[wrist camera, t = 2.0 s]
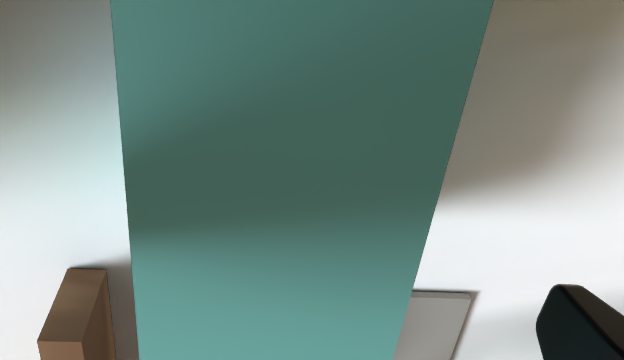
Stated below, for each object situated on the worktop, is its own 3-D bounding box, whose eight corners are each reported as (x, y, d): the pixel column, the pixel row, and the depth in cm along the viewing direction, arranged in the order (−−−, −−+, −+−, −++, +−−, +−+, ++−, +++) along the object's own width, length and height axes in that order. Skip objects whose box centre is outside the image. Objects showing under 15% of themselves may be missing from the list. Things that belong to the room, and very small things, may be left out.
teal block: (183, 209, 18) (143, 408, 12) (179, -113, 13) (106, -43, 7) (342, 217, 18) (378, 411, 12) (395, -89, 13) (495, -5, 8)
